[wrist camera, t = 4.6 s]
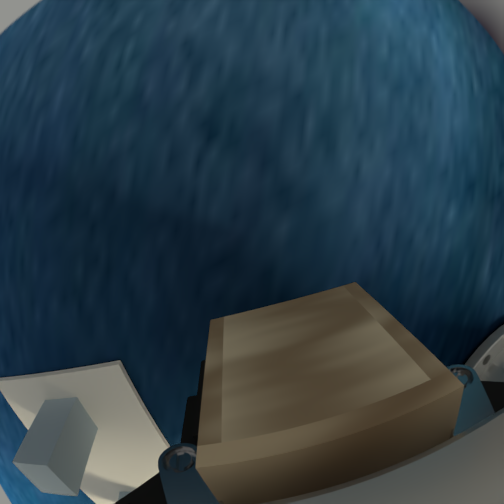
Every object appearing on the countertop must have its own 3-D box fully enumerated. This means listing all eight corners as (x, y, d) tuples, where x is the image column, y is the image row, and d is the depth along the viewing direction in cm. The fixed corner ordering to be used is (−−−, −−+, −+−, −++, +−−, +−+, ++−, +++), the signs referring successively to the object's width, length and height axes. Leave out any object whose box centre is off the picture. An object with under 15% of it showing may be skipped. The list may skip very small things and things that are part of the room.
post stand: (120, 360, 15) (90, 440, 9) (214, 506, 19) (219, 564, 14) (-3, 378, 14) (-44, 433, 9) (109, 511, 19) (101, 561, 13)
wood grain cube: (355, 281, 11) (463, 385, 5) (365, 391, 13) (430, 503, 6) (210, 320, 11) (195, 468, 5) (247, 423, 13) (259, 554, 6)
